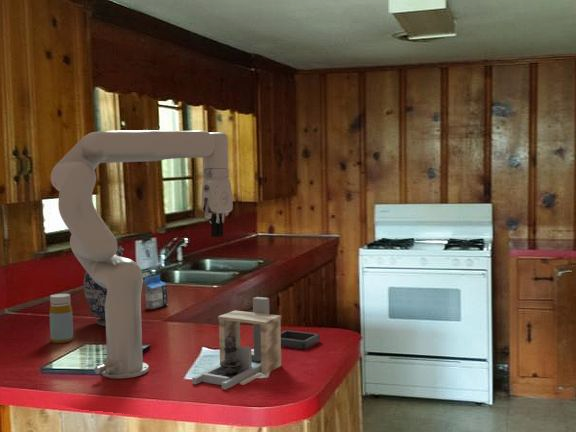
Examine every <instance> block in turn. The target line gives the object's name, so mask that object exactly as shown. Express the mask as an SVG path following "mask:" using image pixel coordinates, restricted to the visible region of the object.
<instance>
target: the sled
mask: <svg viewBox="0 0 576 432" xmlns="http://www.w3.org/2000/svg"><path fill="white" fill-rule="evenodd" d="M252 312H253V313H262V314H270V298H269V297H263V296H261V297H260V296H256V297H253V298H252ZM252 327H253V329H252V331H253V350H252V347H248V346H241V345H240V346H236V348H237V350H236V356H237V360H239V361H241V362H242V364H241V367H240V370H239V371H238V373H239V374H238V375H236V376H234V377H232V378H230V377H226V376H222V375H220V373H223V372H224V371H223V370H222V368H221V365H220V364H219V365H217V366H215V367H212V368H210V369H208V370H205V371H203V372H202V373H200V374H196V375H194V376H193V377H192V380H191V381H192V382H191V383H192V384H194V385H197V384H200V383H201V382H202V383H207V384H213V385H219V386H221V390H228V389H230V388H232V387H234V386H235V385H237V384H240V382H241V381H243V380H245V379H247V378H249V377H251V376H253V375H255V374H256V373H261V327H260V324H253V323H252ZM224 348H225V345H224ZM224 360H225V350H224ZM252 361H253V362H254V361H255V362H260V363H258V364H256V365H253V364H252ZM252 365H253V366H252Z"/></svg>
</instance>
